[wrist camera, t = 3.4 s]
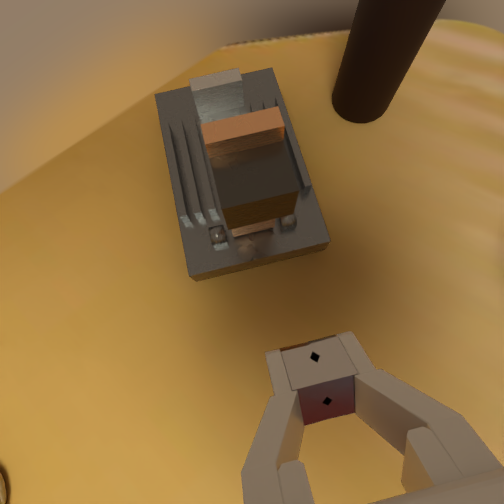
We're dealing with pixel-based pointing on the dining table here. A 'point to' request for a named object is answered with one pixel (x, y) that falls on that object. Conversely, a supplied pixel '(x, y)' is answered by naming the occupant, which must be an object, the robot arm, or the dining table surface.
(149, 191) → the dining table surface
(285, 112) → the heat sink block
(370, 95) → the bottle
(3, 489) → the bread roll
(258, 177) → the brown and black bar
